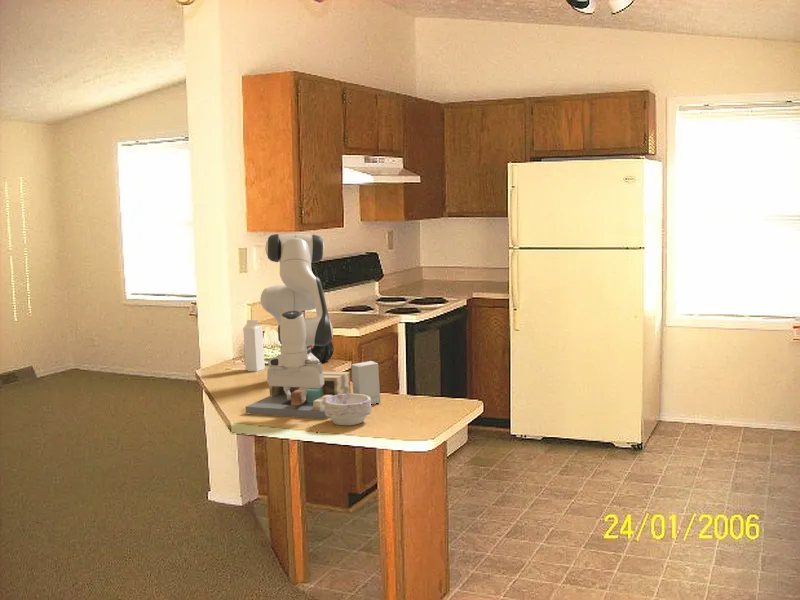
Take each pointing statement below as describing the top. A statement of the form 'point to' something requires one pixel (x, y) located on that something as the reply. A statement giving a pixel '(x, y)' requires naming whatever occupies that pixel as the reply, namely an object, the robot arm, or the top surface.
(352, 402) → the paper bowls
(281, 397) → the board
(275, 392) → the shelf
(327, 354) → the squash
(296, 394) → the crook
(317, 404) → the stick
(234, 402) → the top surface
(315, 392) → the block
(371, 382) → the skincare box
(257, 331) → the milk
